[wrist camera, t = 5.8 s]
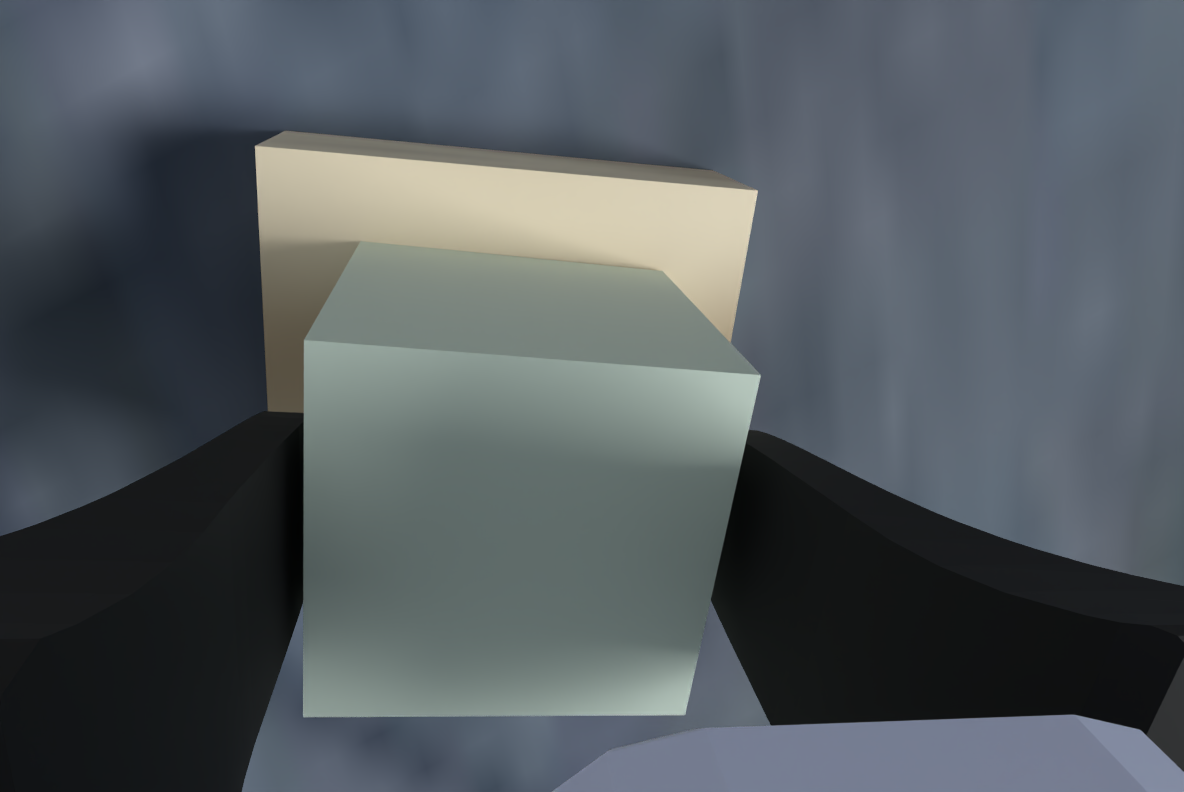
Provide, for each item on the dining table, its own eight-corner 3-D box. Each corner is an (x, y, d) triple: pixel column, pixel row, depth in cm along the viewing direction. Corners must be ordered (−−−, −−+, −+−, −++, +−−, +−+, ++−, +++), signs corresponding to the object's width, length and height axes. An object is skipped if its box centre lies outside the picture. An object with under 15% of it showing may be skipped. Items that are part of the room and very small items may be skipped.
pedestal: (652, 509, 19) (686, 585, 17) (302, 507, 18) (276, 589, 15) (705, 167, 16) (757, 190, 14) (289, 128, 15) (255, 146, 12)
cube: (620, 523, 16) (684, 715, 11) (353, 513, 15) (303, 717, 10) (662, 271, 14) (760, 375, 9) (360, 240, 13) (303, 340, 8)
